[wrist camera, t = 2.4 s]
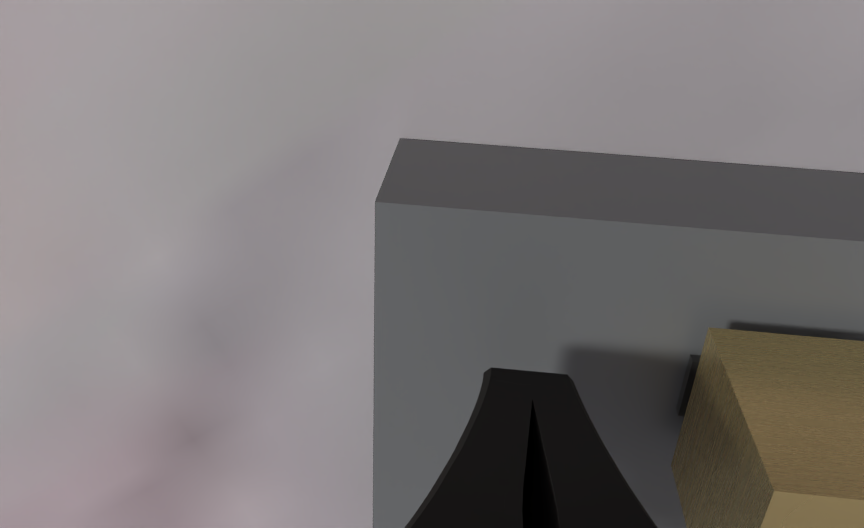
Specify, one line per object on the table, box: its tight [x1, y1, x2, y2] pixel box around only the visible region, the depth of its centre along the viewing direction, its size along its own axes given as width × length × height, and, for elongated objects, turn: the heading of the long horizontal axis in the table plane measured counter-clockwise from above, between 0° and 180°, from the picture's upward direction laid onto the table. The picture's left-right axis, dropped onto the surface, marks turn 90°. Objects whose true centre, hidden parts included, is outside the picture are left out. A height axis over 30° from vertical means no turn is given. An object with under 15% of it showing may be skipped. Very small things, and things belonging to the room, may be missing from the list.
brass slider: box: [671, 328, 864, 528], centre depth 11 cm, size 3×3×4 cm
